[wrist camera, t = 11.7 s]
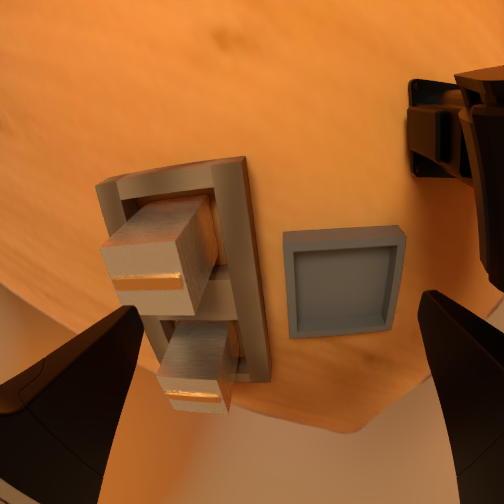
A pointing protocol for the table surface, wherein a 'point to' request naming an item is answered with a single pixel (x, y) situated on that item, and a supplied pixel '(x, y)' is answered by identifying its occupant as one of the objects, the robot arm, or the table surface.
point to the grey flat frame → (222, 276)
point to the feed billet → (200, 366)
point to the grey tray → (342, 279)
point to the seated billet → (163, 256)
